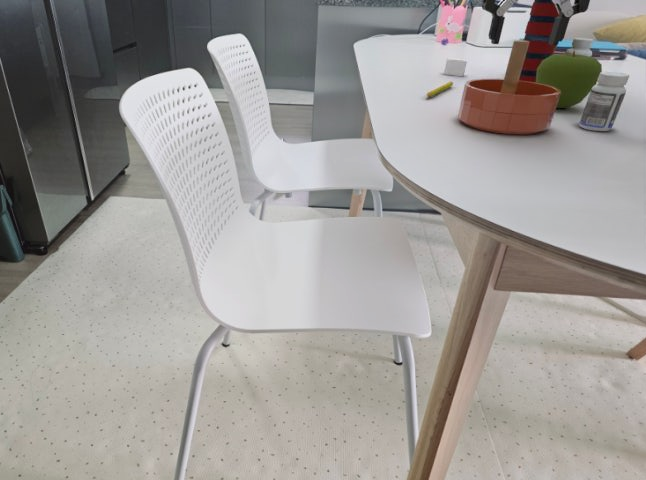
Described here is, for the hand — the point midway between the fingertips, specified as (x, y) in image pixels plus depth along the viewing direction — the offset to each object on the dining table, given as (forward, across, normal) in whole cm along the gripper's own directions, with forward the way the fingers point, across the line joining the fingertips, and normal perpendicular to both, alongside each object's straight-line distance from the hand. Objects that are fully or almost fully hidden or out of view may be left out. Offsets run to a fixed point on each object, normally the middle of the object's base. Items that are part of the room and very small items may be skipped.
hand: (523, 44), depth 72 cm
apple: (+12, +14, +16) cm, 24 cm away
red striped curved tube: (+13, +16, +41) cm, 45 cm away
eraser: (+12, 0, +50) cm, 51 cm away
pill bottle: (+12, +15, +1) cm, 19 cm away
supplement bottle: (+13, +24, +42) cm, 50 cm away
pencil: (+12, -7, +25) cm, 29 cm away
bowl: (+12, 0, 0) cm, 12 cm away
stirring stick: (+12, -1, 0) cm, 12 cm away
